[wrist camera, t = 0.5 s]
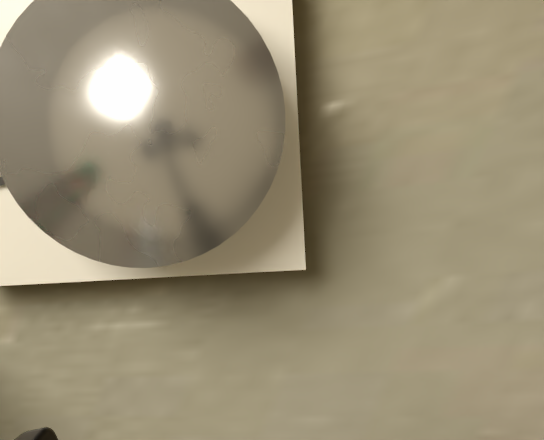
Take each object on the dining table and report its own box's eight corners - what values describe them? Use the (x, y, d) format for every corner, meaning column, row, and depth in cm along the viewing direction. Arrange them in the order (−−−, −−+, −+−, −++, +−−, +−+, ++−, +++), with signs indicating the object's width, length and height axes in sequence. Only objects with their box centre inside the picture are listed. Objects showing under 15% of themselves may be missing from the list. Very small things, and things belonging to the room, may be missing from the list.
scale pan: (292, 250, 19) (293, 260, 17) (32, 264, 19) (7, 275, 18) (277, -29, 18) (276, -49, 16) (-2, -9, 18) (-33, -27, 16)
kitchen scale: (304, 259, 22) (306, 271, 20) (-15, 276, 23) (-50, 290, 20) (288, -31, 21) (289, -54, 18) (-54, -7, 21) (-97, -27, 19)
